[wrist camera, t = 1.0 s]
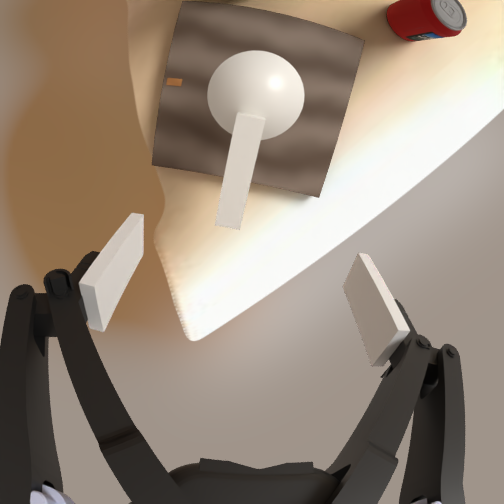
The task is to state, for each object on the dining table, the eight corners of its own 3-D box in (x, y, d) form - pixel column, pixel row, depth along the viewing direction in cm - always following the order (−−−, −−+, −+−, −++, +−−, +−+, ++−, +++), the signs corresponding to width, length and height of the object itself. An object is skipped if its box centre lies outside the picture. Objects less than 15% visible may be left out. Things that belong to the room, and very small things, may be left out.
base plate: (186, 4, 26) (182, 0, 24) (359, 42, 28) (365, 40, 27) (155, 161, 38) (151, 165, 37) (316, 192, 41) (319, 198, 39)
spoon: (222, 48, 23) (215, 38, 18) (307, 66, 24) (320, 61, 19) (193, 196, 33) (182, 219, 28) (268, 211, 34) (271, 236, 29)
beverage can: (411, 50, 28) (460, 46, 18) (376, 21, 26) (419, 4, 16) (428, 24, 25) (476, 16, 15) (395, -5, 23) (438, -24, 13)
